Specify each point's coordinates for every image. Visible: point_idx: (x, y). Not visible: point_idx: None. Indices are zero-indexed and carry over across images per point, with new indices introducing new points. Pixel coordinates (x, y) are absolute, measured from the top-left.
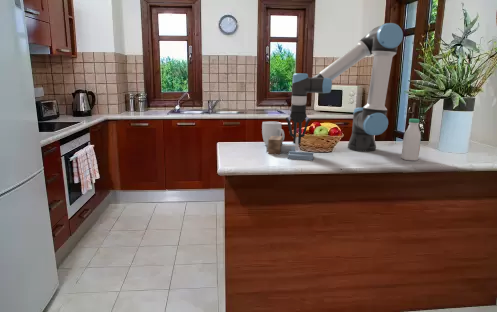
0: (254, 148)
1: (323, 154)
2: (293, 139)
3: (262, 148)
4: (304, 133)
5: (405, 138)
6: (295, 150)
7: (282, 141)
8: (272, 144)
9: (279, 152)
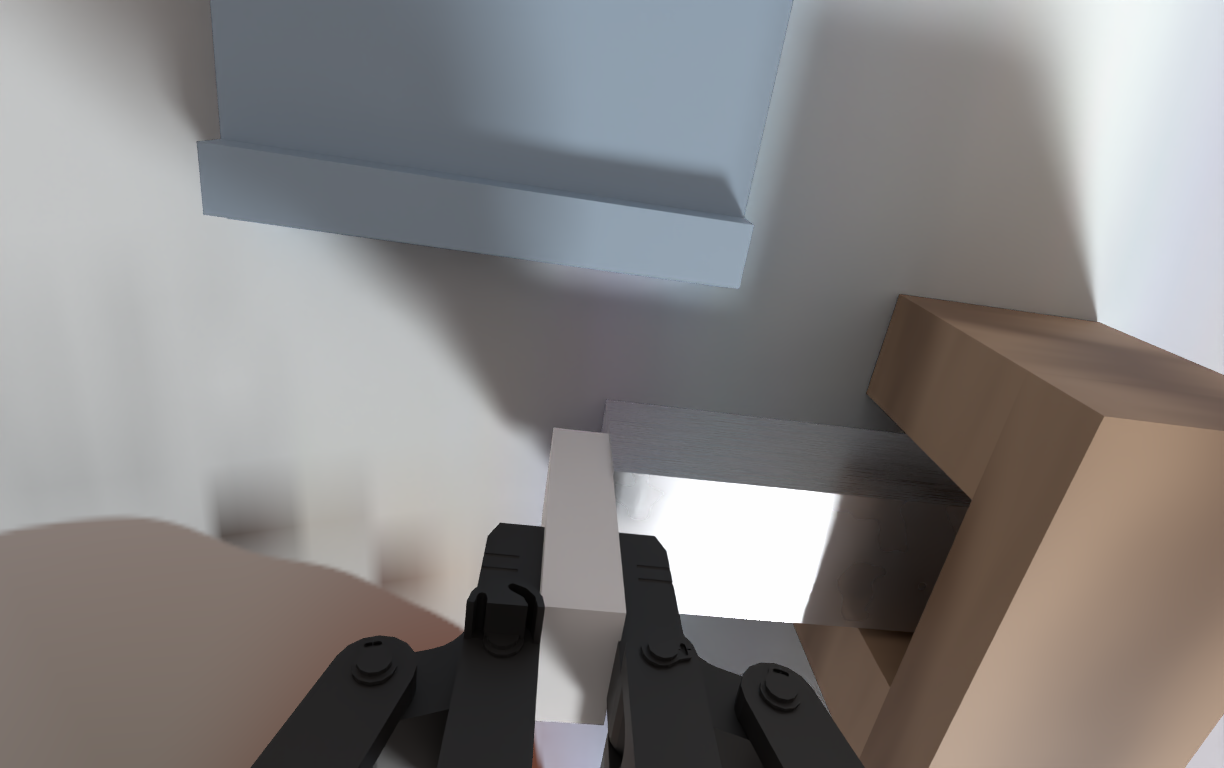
0: None
1: (67, 405)
2: (673, 606)
3: None
4: (299, 736)
5: None
6: None
7: None
8: (1180, 385)
9: (921, 304)
